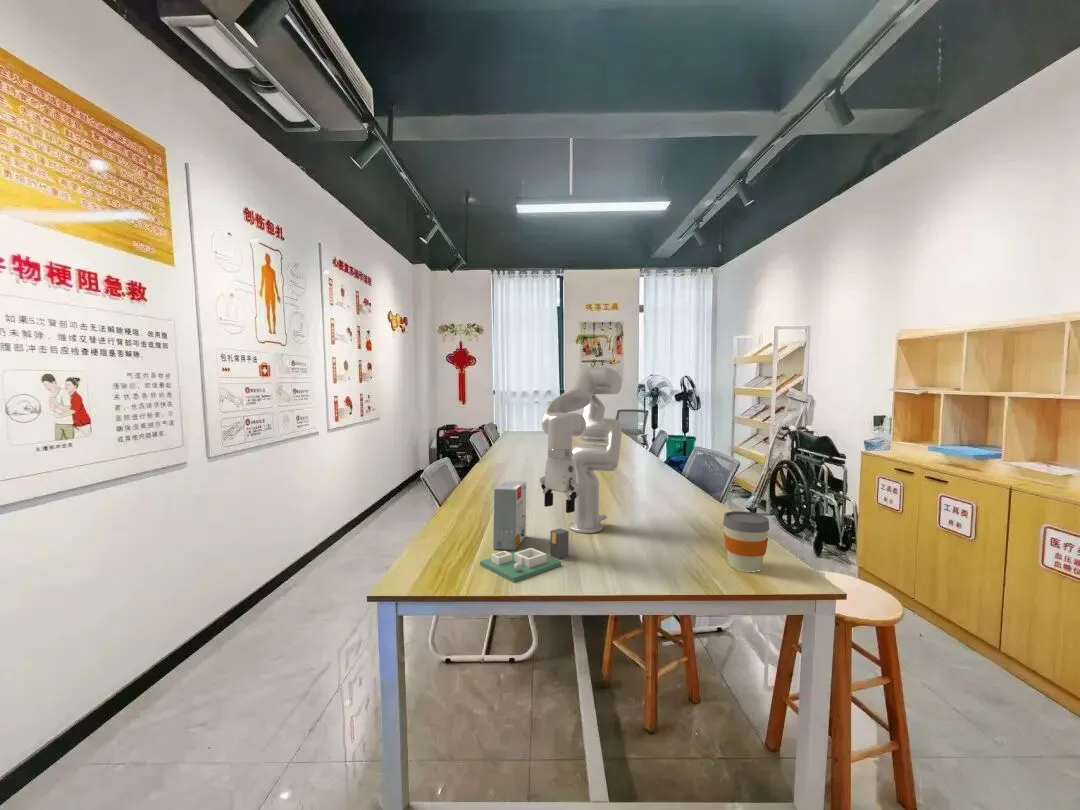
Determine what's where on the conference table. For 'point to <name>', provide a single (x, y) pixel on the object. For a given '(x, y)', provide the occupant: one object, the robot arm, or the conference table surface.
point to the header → (525, 556)
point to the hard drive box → (509, 515)
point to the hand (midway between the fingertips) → (559, 509)
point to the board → (525, 571)
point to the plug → (559, 543)
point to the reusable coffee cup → (745, 539)
